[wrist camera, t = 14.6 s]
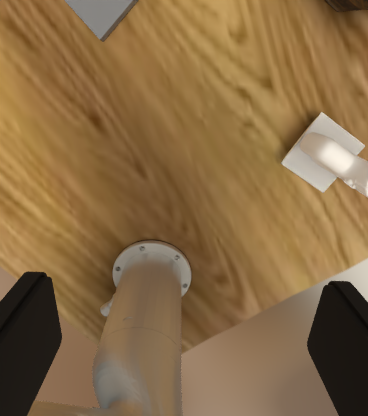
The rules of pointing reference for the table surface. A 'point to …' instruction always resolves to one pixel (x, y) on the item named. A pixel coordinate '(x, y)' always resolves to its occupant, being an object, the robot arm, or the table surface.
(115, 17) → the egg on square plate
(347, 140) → the figurine
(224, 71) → the table surface
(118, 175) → the table surface
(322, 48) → the table surface
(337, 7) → the ceramic cup
